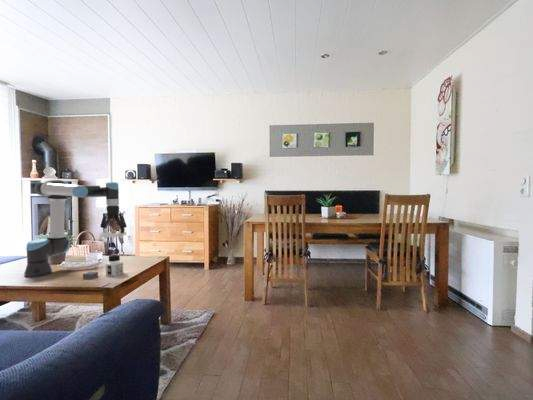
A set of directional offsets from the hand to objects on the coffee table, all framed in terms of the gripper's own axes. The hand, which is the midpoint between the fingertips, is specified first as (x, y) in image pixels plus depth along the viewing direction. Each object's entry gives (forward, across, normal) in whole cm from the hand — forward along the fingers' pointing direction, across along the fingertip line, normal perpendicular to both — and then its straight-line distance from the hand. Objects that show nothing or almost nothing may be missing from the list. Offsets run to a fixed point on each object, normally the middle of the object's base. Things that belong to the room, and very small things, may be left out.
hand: (113, 238), depth 204 cm
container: (+25, 0, 0) cm, 25 cm away
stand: (+24, -10, -10) cm, 28 cm away
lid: (-1, 0, 0) cm, 1 cm away
